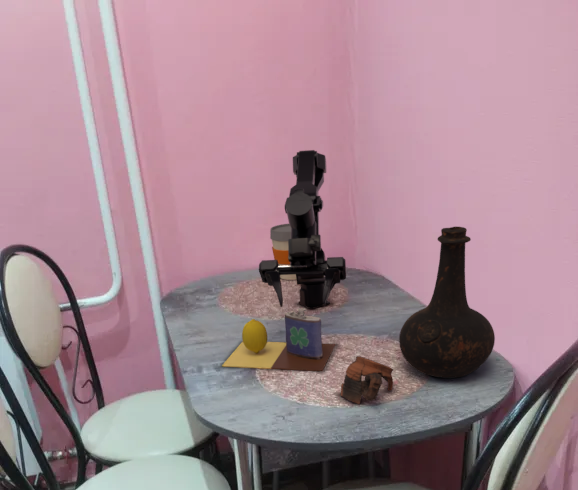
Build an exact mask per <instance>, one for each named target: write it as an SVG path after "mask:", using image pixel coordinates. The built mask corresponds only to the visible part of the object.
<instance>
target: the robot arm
mask: <svg viewBox="0 0 578 490" xmlns="http://www.w3.org/2000/svg"><path fill="white" fill-rule="evenodd" d="M292 173H293V175H295V177H296V183H295V184H294V186H292V187H290V189H289V196H288V197H286V200H285V203H284V211H285V214H286V216H287V220H288V224H290V226H291V239H289V240H288V260H289V262H290V265H288V266H279V265H278V261H277V260H274V259H265V260H264V259H263V260H261V261H260V262H259V264H258V273H259V276H260V279H261V281H262V283H264V284H267V286H269V287H273V289H274V292H275V293H276V296H277V299H278V303H279V307H280V308H282V307H283V306H284V298H283V287H282V281H281V278H280V275H290V274H296V279H295V280H296V285H297V286H300V288H299V291H298V292H299V301H298V305H301V306H303V307H304V308H307V309H310V310H313V309H316V308H321V307H325V306H328V305H331V301H329V300H328V299H329V297H330V295H331V292H332V290H333V289H334V288H335V286H336V284H340V283H341V281H344V280H347V263H346V259H345V257H344V256H334V257H333V256H332V257H329V256H328V257H326V254H325V251H324V250H323V248H322V238H321V234H320V213H321V212H322V211H323V207H324V200H323V199H322V197H321V195H319V191H320V189H321V188H322V186H323V184H324V182H325V174H327V158H326V155H325V154H323V153H319V152H318V151H317V150H315V149H310V150H309V149H308V150H307V149H306V150H299V151H298V152H296V155H294V156H292Z"/></svg>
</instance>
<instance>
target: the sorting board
mask: <svg viewBox="0 0 578 490" xmlns="http://www.w3.org/2000/svg"><path fill="white" fill-rule="evenodd" d="M335 347H336V344H335V343H322V352H323V356H322V358H321V359H318V360H316V359H309V358H303V357H298V356H294V355H291V354H288V353H287V346H286V341H285V342H284V341H267V344H266V346H265V347H264V348H263V349H262V350H260V351H259V352H258V353H254V352H253V351H250V350H248V349H247V348H246V347H245V345H244V343H243V340H242V341H241V343H240V344H239V345H237V347H236V348H235V350H234V351H233V352H232V353H231V355H230V356H228V358H227V359H226V360H225V361H224V362H223V364H222V365H221V367H222V368H239V369H241V368H242V369H260V370H261V369H262V370H283V371H284V370H285V371H286V370H287V371H304V372H305V371H306V372H307V371H308V372H323V371H324V369H325V367H326V365H327V363H328V362H329V359H330V356H331V354H332V352H333V350H334V348H335Z"/></svg>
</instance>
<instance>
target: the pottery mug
mask: <svg viewBox="0 0 578 490" xmlns="http://www.w3.org/2000/svg"><path fill="white" fill-rule="evenodd" d="M393 372H394V369H393V368H391V366H388V365H386V364H382V363H381V362H377V361H375V360H372V359H369V358H367V357H365V356H364V357H363V356H360V355H356V357H355V360H354V361H353V362H351V363H350V364H349V365H348V366H347V368H346V370H345V373H346V374H345V375H344V380H343V383H341V386H340V395H339V396H341V397H342V398H344V399H345V400H347V401H349V402H352V403H354V404H357V405H360V404H361V401H362V400H361V399H362V397H363V399H364V400H365V401H367V402H369V401H370V402H371V401H375V400H376V399H377V396H378V395H379V391H380V389H381V386H382V384H383V380H384V381H385V382H387V391H392V390H393V388H394V387H393V386H394V380H393V376H392V373H393ZM362 377H364V380H362Z"/></svg>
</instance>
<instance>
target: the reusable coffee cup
mask: <svg viewBox="0 0 578 490" xmlns="http://www.w3.org/2000/svg"><path fill="white" fill-rule="evenodd" d="M269 232H270V233H269V234H270V237H269V239H270V240H271V244H272V246H271V250H272V255H273V260H277V261H278V265H279V266H288V265H290V262H289V260H288V240H289V239H291V226H290V224H289V223H283V224H278V225H274V226H272V227H270V231H269ZM280 280H286V281H287V280H288V281H293V280H294V281H295V280H296V274H290V275H280Z"/></svg>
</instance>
